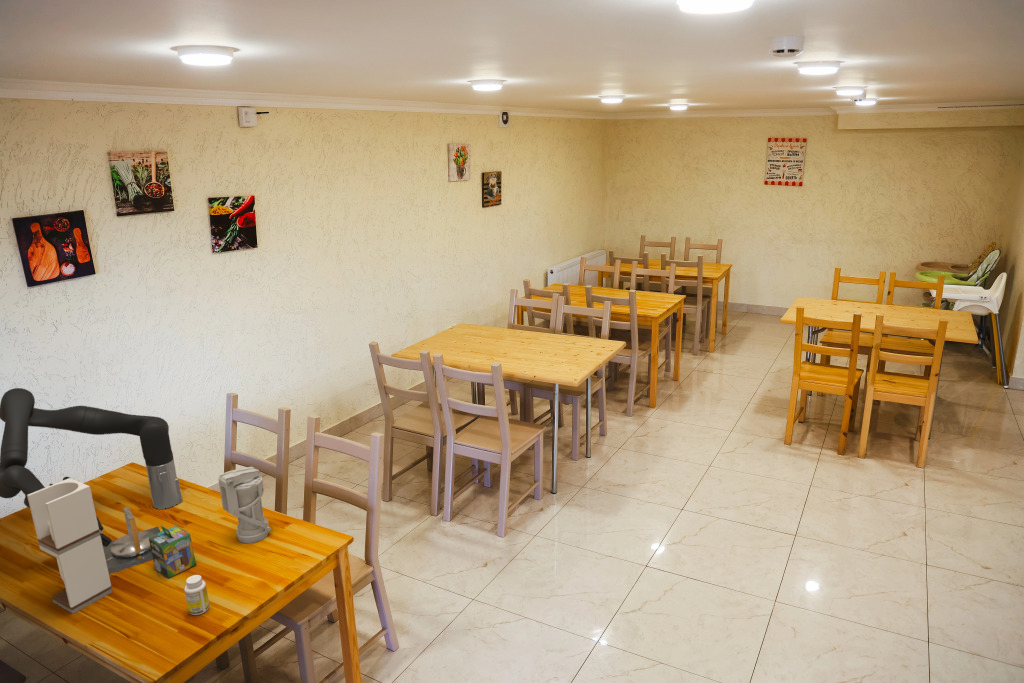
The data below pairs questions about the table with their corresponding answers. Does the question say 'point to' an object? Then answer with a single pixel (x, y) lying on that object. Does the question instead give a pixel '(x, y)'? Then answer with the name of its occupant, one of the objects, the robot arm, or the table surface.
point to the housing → (125, 562)
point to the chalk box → (172, 551)
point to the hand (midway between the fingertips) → (109, 543)
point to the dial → (131, 539)
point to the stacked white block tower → (72, 541)
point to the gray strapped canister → (245, 502)
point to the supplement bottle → (196, 595)
